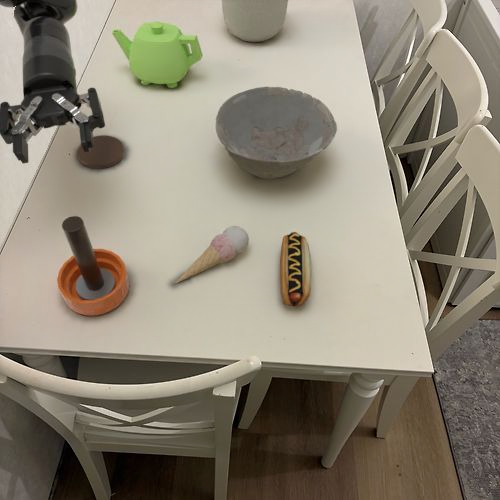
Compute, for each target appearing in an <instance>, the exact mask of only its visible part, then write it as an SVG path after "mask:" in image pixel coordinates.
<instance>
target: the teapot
mask: <svg viewBox="0 0 500 500" xmlns="http://www.w3.org/2000/svg"><path fill="white" fill-rule="evenodd" d="M121 30H122V29H113V30H112V31H111V34H112V35H113V37H114V39H115V40H116V42H117V44H118V46H119V48H120V49H121V51H122V52H123V54H124V56H125V57H126V59H127V61H128V62H129V64H128V65H129V68H130V70H131V73H132V74H133V75H134V76H135V77H136V78H138V79H139V80H140V83H141V84H142V85H144V86H147V85H151V84H157V85H166V87H167V88H169V89H174V88H177V87H178V82H180V81H182V80H183V79H184V78H185V76H186V75H187V73H188V71H189V69H190V68H191V66H194V65H195V64H197V63H198V62H199V61H201V60H202V59H203V56H204V54H203V52H202V48H201V45H200V41H199V38H198V35H196V34H183V32H182V31H181V29H180V28H179V27H178V26H177V25H175V24H172V23H167V22H162V21H150V22H145V23H142V24H141V25H140V26H139V27H138V28H137V30H136V32H135V34H134V36H133V39H130V38H128V36H127V35H126V34H125V33H124V32H122V31H121Z"/></svg>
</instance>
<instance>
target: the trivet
mask: <svg viewBox="0 0 500 500" xmlns="http://www.w3.org/2000/svg"><path fill="white" fill-rule="evenodd" d="M93 140H94V146H93V148H90V152H86V153H85V152H84V150H83V147H82V145H81V144H80V145H79V146H78V148H77V157H78V160H79V162H80V163H81V164H82V165H84V166H85V167H86V168H90V169H95V170H99V169H100V170H101V169H108V168H110V167H112V166H115V165H117V164H118V163H120V162H121V161H122V160H123V158H124V156H125V147H124V144H123V142H122V141H121V139H119V138H117V137H114V136H112V135H104V134H103V135H95V136H93Z"/></svg>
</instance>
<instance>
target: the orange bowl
mask: <svg viewBox="0 0 500 500" xmlns="http://www.w3.org/2000/svg"><path fill="white" fill-rule="evenodd" d="M93 250H94V253H95V256H96V259H97V262H98V265H99V268H102V269H106V270H108V271H109V272H111V273H112V275H113V276H114V279H115V282H116V288H115V289H114V290H113V291H112V292H111V293H109V294H108V295H106V296H104V297H102V298H99V299H95V300H82V299H81V298H80V297H79V296H78V293H77V291H76V282H77V280H78V278H79V277H80V276H81V272H80V270H79V267H78V265H77V262H76V260H75V257H74V255H72V256H71V257H69V258H68V259H67V260H66V261H65V262H63V264H62V266H61V268H60V269H59V271H58V274H57V278H56V282H57V289H58V290H59V292H60V294H61V296H62V298H63V300H64V302H65V304H66V305H67V307H68V308H69V309H70V310H72V311H74V313H77V314H80V315H84V316H99V315H104V314H106V313H109V312H111V311H112V310H114V309H116V308H117V307H119V306H120V304H122V303H123V302H124V300H125V299H126V298H127V295H128V294H129V290H130V280H129V275H128V272H127V268H126V264H125V262H124V261H123V259H122V257H120V255H118V254H117V253H115V252H113V251H112V250H109V249H104V248H93Z"/></svg>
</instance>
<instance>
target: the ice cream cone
mask: <svg viewBox="0 0 500 500" xmlns="http://www.w3.org/2000/svg"><path fill="white" fill-rule="evenodd" d="M249 241H250V239H249V233H248V232H247V231H246V230H245V229H244V228H243V227H241V226H239V225H230V226H227V228H225V229H224V230H223V231H222V233H220V234H217V235H215V237H213V238H212V239H211V241H210V243H209V246H208V247H207V248H206V249H205V250H204V251H203V252H202V254H200V256H199V257H198V258H197V259H196V260H195V261H194V262H193V263H192V264H191V266H189V268H188V269H186V271H185V272H184V273H183V274H182V275H181V276H180V277H179V278H178V279H177V280H176V282H175V283H174V285H176V284H178V283H181V282H182V281H184V280H186V279H189V278H191V277H194V276H195V275H197V274H199V273H201V272H203V271H205V270H208V269H210V268H211V267H214V266H216V265H218V264H220V263H225V262H229V261H231V260H233V259H234V258H235V257H236V256H237V254H240V253H242V252H244V251H245V250H246V249H247V247H248V245H249Z"/></svg>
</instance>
